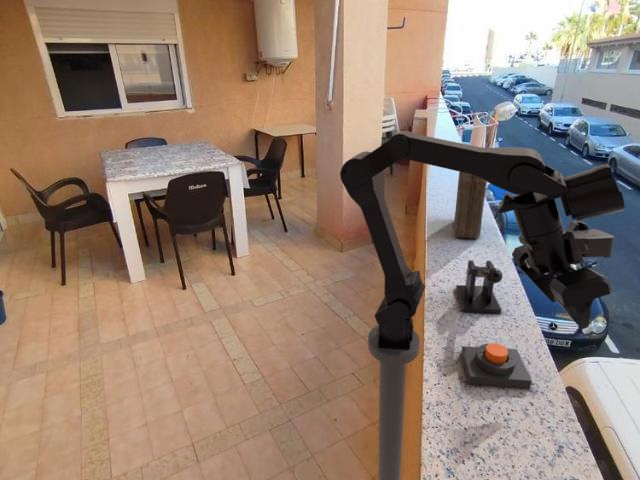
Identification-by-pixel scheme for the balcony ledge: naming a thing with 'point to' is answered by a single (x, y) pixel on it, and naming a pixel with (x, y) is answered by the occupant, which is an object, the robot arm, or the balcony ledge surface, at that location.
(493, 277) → the lever
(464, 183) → the brown upright rectangular block
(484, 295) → the switch mount
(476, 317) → the balcony ledge surface
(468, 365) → the control block
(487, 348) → the button
